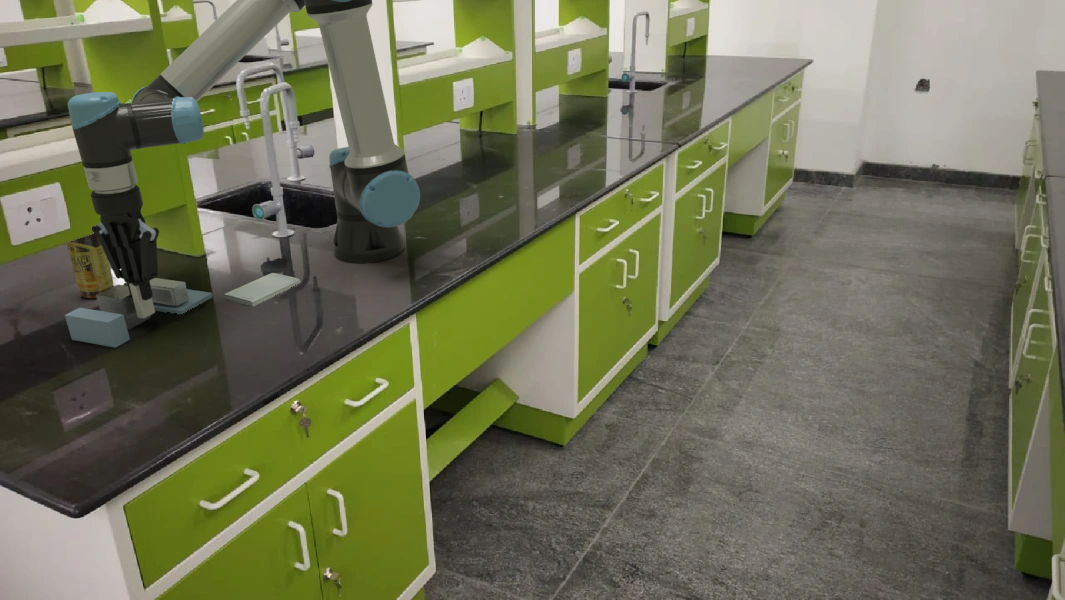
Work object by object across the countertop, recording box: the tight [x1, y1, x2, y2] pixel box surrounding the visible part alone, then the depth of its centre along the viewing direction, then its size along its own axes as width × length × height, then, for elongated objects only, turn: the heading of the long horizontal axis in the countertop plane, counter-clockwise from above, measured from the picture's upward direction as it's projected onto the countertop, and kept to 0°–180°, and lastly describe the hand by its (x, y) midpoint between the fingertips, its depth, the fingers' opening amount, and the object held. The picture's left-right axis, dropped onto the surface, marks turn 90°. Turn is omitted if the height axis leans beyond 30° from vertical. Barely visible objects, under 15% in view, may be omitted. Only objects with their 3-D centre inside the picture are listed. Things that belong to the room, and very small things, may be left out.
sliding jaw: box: [122, 277, 189, 306], centre depth 153 cm, size 14×3×4 cm, turn 69°
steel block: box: [96, 284, 152, 331], centre depth 147 cm, size 6×5×6 cm
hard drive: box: [222, 272, 302, 307], centre depth 159 cm, size 2×8×12 cm
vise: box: [64, 288, 214, 348], centre depth 149 cm, size 13×23×5 cm, turn 159°
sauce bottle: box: [66, 234, 115, 299], centre depth 156 cm, size 7×6×20 cm
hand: (146, 314), depth 146 cm, fingers closed
